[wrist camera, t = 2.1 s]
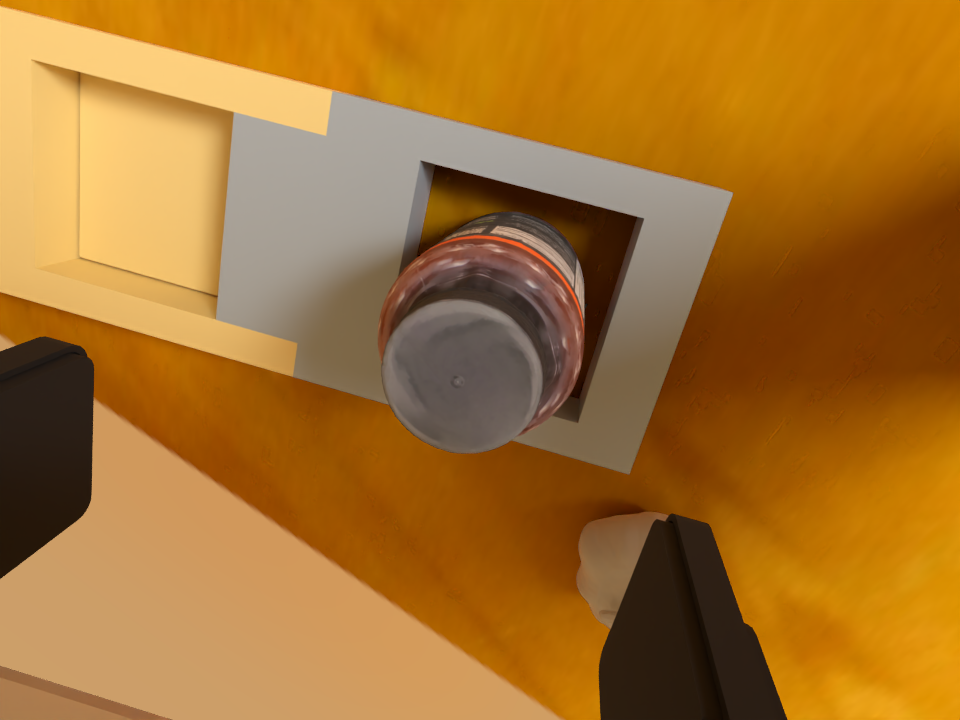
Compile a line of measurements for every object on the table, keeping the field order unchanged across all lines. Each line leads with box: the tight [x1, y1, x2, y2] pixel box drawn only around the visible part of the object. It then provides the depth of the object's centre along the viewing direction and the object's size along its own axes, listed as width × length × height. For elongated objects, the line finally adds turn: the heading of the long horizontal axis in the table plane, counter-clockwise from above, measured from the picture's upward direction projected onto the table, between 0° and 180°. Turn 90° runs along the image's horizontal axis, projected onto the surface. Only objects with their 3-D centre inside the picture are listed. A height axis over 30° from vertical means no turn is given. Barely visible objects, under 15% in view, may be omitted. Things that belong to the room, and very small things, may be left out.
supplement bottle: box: [378, 212, 587, 454], centre depth 20 cm, size 6×6×11 cm
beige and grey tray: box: [0, 6, 733, 474], centre depth 25 cm, size 28×11×2 cm, turn 77°
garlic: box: [576, 512, 668, 629], centre depth 26 cm, size 6×5×5 cm
